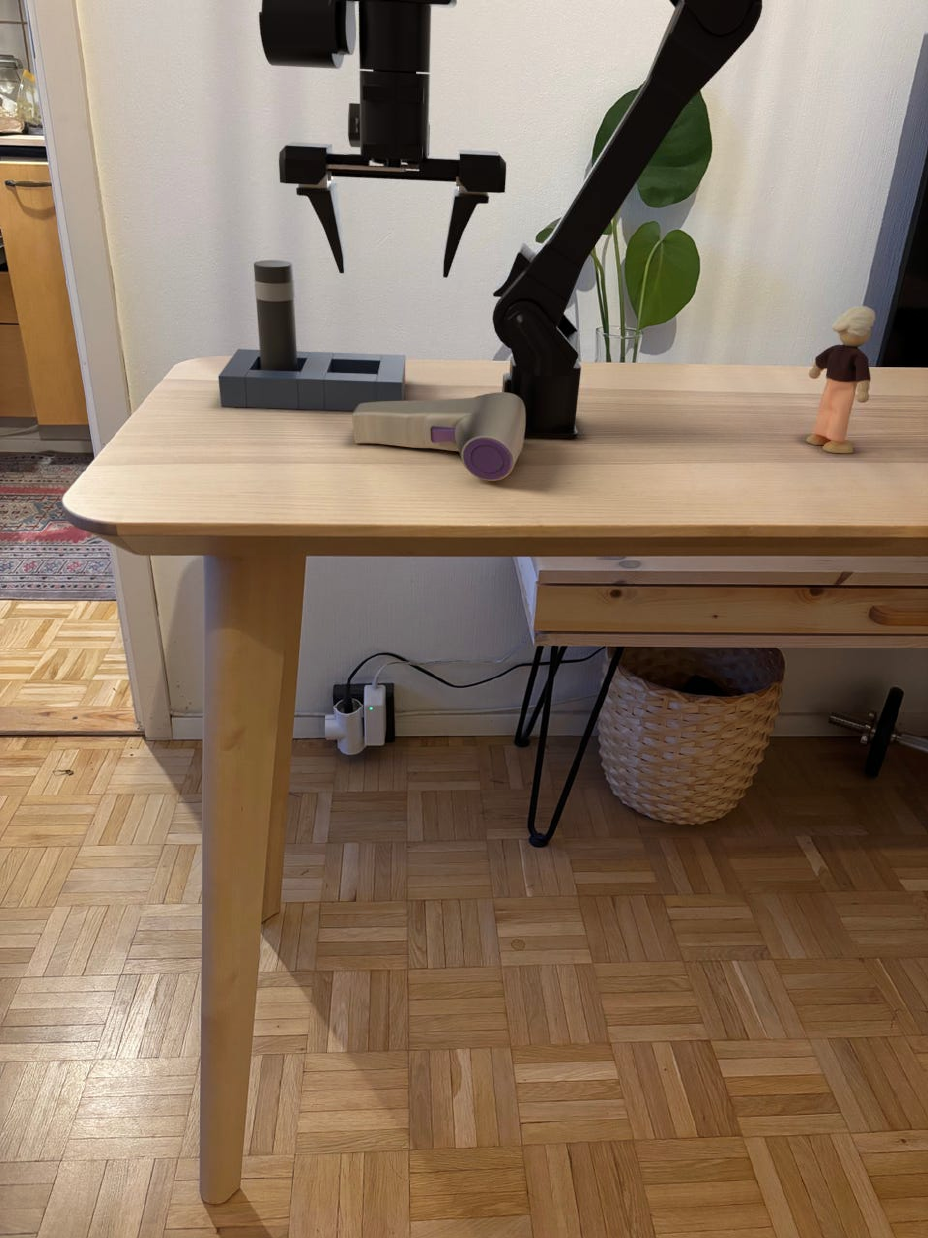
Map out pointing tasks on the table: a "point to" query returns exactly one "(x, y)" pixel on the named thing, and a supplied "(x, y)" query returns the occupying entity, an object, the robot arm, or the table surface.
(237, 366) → the grey flat block
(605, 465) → the table surface
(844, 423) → the grandmother figurine
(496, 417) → the infrared thermometer
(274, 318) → the dark grey banded cylinder
